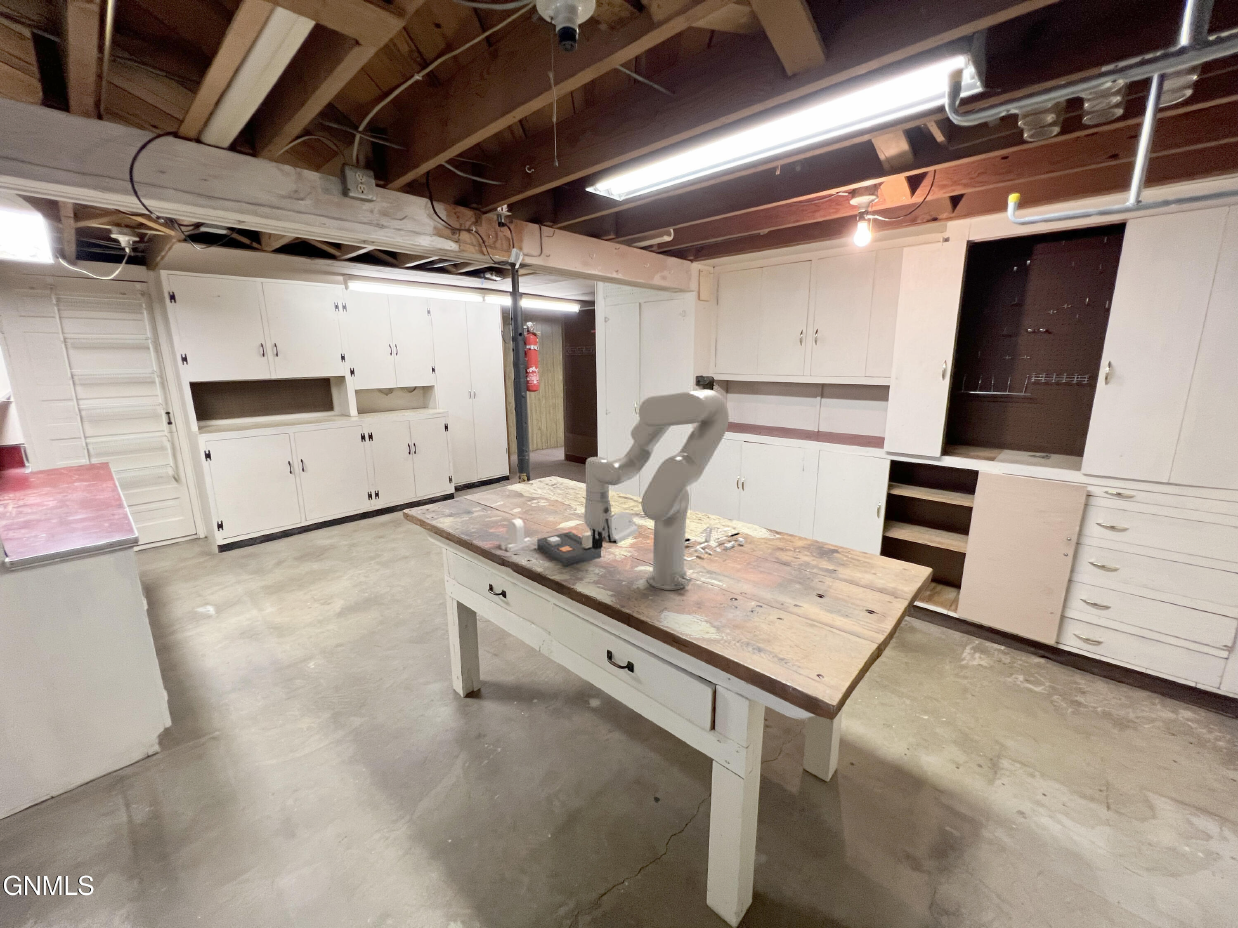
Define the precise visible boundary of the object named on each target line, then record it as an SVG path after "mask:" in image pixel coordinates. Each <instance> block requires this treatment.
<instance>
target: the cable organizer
mask: <svg viewBox="0 0 1238 928" xmlns="http://www.w3.org/2000/svg"><path fill="white" fill-rule="evenodd" d="M506 530H507V531H506V532H507V540H505V541H503V542H501V543H500V549H502V550H506V551H507V552H513V551H516V550H518V549H521V548H523V547H526V546H529V545H531V538H530V537H526V536H525V524H524V521H523V520H522V519H521V518H515V519H512V520H509V521H508V522H507V525H506Z"/></svg>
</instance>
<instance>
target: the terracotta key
mask: <svg viewBox="0 0 1238 928" xmlns="http://www.w3.org/2000/svg"><path fill="white" fill-rule="evenodd" d="M559 551H561V552H563V553H565V552H569V551H573V549H572V548H570V547H568V546H566V547H562V548H559Z"/></svg>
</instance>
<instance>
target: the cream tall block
mask: <svg viewBox="0 0 1238 928" xmlns="http://www.w3.org/2000/svg"><path fill="white" fill-rule="evenodd" d="M581 537H582V547H584V548H589V547H592V536H591V531H589V532H585V533H582V534H581Z"/></svg>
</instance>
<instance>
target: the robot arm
mask: <svg viewBox="0 0 1238 928" xmlns="http://www.w3.org/2000/svg"><path fill="white" fill-rule="evenodd" d="M638 417H639V419H638V421H637V422H636V424H635V425H634V426H633V428H632V429H631V432H630V437H631V439H632V440H633V442H632V445H631V446H630V448H629V449H628V451H627V452H626V453H625V454H624V456H622V457H620V458H617V459H615V460H610V461H609V459H608V458H606V457H602V456H592V457H588V458H587V459H586V461H585V503H584V513H583V514H584V524H585V525H586V527H587V528H588V529H589V530H590V531H589V532H590V533H591V536H592V548H593V549H595V550H596V549H600V548H601V549H603V546H604V545H603V544H604V542H603V541H604V540H603V538H604V537H605V536H606V535H608V529H612V515H613V514H612V505H611V501H610V486H619V485H620V484H623V483H625V482H627V481H630V480H632V479H634V478H635V477H637V476H638V474H639V473H641V471H642V470H643V469H644V467H645V466H646V465H647V463H649V461H650V459H651V457H652V454H653V453H654V449H655V447H656V446H657V444H658V443H659V442H660V441H661V439H662V438H663V437H664V436H665V434H666V433H667V432H668V431H669V429H670V428H671V427H673V426H682V425H683V426H684V425H693V424H696V425H695V426H694V428H693V429H692V431H691V432H690V433H689V435H688V436H687V438H686V440H685V442H684V444H683V445H682V447H681V448H680V450H679V452H678V453H675V454H674V455H671V456H669V457H667V458H666V459H664V460H663V461H662V462H661V463H660V465H659V466H658V467H657V469H656V470H655V473H654V474H653V476H652V478H651V479H650V482H649V483H648V485H647V487H646V489H645V491H644V493H643V495H642V498H641V504H640V505H641V510H642V512H643V514H644V515H645V517H646V518H647V519H649V520H651V521H654V523H653V542H652V543H653V545H652V546H653V547H652V548H653V549H652V551H653V552H652V571H651V572H649V573H648V575H647V582H648V584H650V585H651V586H652V587H654V588H655V589H660V590H665V591H673V590H674V591H675V590H680V589H683V588H686V589H687V588H688V587H689V586H690V584H691V582H692V581H693V580H692V578H691V577H689V576H688V575H687V570H686V569H685V560H684V557H685V555H684V554H686V551H685V549H686V544H685V539H686V531H687V530H686V529H687V519H688V518H687V516H688V512H689V505H690V494H689V490H688V487H690V486H692V485H693V484H695V483H697V482H698V481H699V480H700V479H701V477H702V475H703V474H704V471H705V470H706V467H707V466H708V465H709V464H710V462H711V459H712V458H713V456H714V454H715V452H716V450H717V449H718V447H719V445H720V444H721V443H722V440H723V439H724V437H725V434H726V431H727V429H728V426H729V420H730V419H729V417H730V416H729V409H728V406H727V404H726V402H725V400H724V398H723V397H722V396H721V395H720V394H719V393H718V392H716V391H714V390H712V389H698V390H697V389H696V390H689V391H683V392H676V393H670V394H669V393H668V394H657V395H652V396H649V397H645V399H644V400H643V401H642V402H641V403H640V406H639V408H638Z"/></svg>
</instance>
